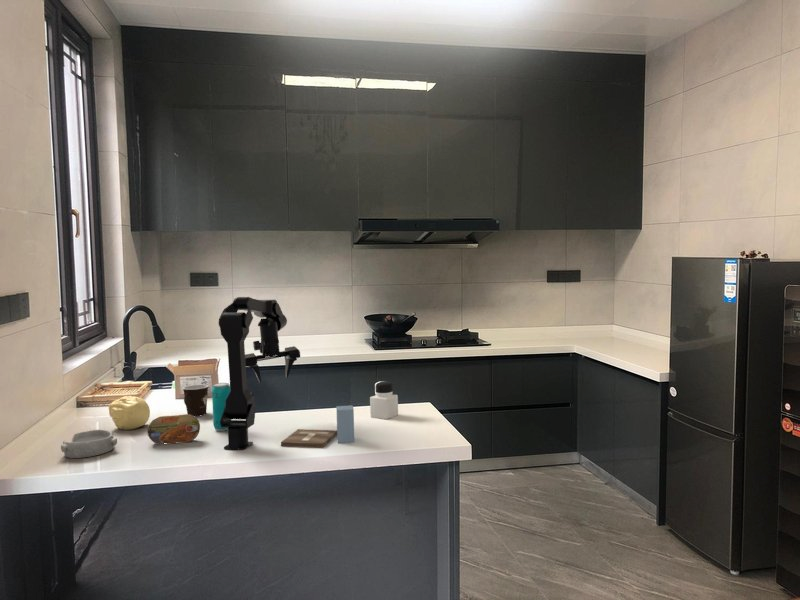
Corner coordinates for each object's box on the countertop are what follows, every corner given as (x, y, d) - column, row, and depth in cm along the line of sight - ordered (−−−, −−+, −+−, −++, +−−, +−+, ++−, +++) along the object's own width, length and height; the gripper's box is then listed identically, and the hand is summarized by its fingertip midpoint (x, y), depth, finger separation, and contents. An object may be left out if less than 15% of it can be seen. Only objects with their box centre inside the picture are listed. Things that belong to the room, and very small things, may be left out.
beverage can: (225, 426, 206) (223, 381, 205) (235, 428, 202) (233, 383, 201) (210, 430, 201) (208, 384, 200) (220, 432, 198) (218, 386, 197)
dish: (60, 462, 172) (59, 445, 172) (65, 449, 185) (64, 432, 184) (117, 455, 178) (116, 438, 177) (118, 442, 190) (117, 426, 190)
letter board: (323, 447, 179) (322, 443, 179) (281, 446, 182) (280, 441, 182) (337, 434, 193) (337, 430, 193) (298, 432, 195) (298, 429, 195)
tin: (148, 445, 186) (146, 418, 185) (150, 442, 189) (148, 415, 188) (200, 441, 189) (198, 414, 188) (201, 438, 192) (200, 412, 191)
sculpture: (104, 430, 205) (102, 398, 204) (134, 421, 215) (132, 390, 215) (127, 433, 200) (126, 400, 199) (157, 424, 210) (156, 393, 209)
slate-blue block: (337, 443, 183) (336, 410, 183) (337, 438, 188) (336, 406, 188) (354, 442, 184) (353, 409, 183) (353, 437, 189) (352, 405, 188)
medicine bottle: (398, 415, 215) (397, 381, 215) (387, 419, 209) (386, 384, 209) (381, 412, 219) (380, 379, 218) (370, 417, 213) (369, 382, 212)
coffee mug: (199, 410, 229) (198, 383, 229) (214, 413, 224) (213, 386, 224) (172, 417, 220) (170, 389, 219) (186, 420, 215) (185, 392, 214)
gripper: (290, 327, 218) (293, 369, 221) (236, 335, 211) (241, 378, 214) (298, 333, 208) (302, 377, 212) (243, 342, 201) (248, 388, 204)
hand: (273, 380), depth 210 cm, fingers open, 9 cm apart
